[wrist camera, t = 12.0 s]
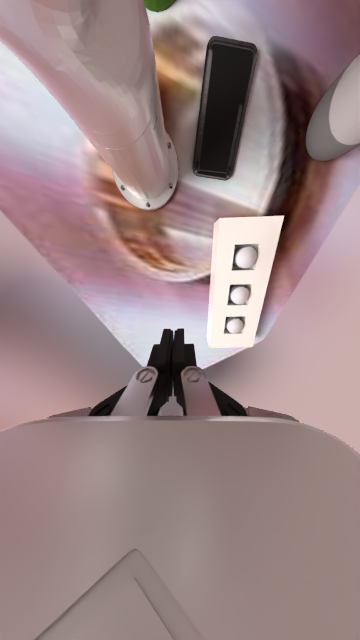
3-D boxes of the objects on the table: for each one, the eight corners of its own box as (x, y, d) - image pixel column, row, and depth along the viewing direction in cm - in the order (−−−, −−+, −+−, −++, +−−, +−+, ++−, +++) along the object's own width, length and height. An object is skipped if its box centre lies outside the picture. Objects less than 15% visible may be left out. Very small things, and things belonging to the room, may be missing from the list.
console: (214, 223, 30) (219, 218, 26) (268, 221, 30) (284, 215, 25) (206, 338, 43) (209, 347, 38) (245, 337, 43) (252, 347, 38)
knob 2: (231, 248, 31) (238, 247, 27) (249, 247, 31) (258, 246, 27) (229, 267, 33) (235, 268, 29) (246, 266, 33) (254, 267, 29)
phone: (192, 172, 26) (208, 33, 20) (191, 176, 27) (207, 44, 21) (231, 179, 27) (260, 44, 20) (230, 182, 28) (256, 54, 21)
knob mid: (227, 283, 34) (232, 287, 30) (243, 283, 34) (251, 287, 30) (225, 299, 36) (230, 304, 32) (240, 298, 36) (247, 304, 32)
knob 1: (223, 313, 38) (228, 319, 34) (238, 312, 38) (244, 319, 34) (222, 325, 39) (226, 333, 36) (236, 325, 39) (242, 333, 36)
